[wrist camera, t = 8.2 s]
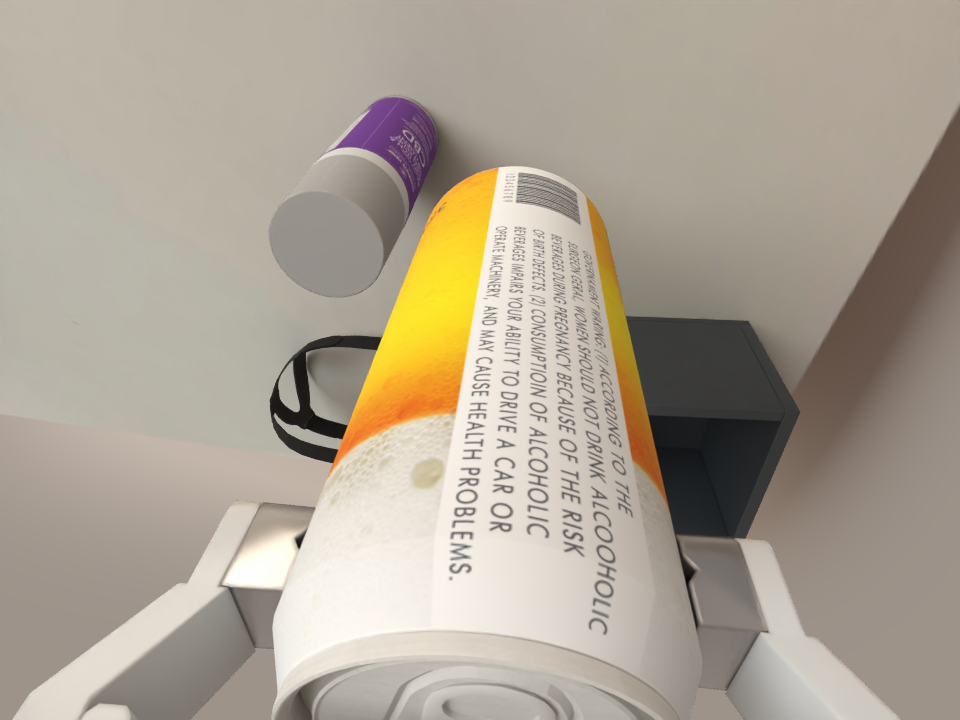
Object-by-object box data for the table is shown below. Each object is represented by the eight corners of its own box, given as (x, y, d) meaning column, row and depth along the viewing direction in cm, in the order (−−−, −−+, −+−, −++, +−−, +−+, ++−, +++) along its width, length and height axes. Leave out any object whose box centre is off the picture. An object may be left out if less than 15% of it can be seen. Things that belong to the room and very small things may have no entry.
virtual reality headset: (506, 446, 48) (484, 546, 40) (313, 403, 49) (253, 491, 41) (527, 335, 41) (506, 428, 33) (303, 290, 43) (230, 369, 35)
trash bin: (748, 320, 40) (800, 411, 32) (706, 451, 47) (740, 551, 39) (564, 313, 40) (572, 401, 33) (551, 444, 48) (555, 540, 40)
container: (453, 128, 34) (410, 235, 21) (412, 192, 36) (352, 320, 24) (383, 76, 32) (295, 160, 20) (345, 146, 35) (246, 258, 23)
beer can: (416, 307, 21) (255, 800, 9) (436, 139, 18) (212, 591, 5) (578, 338, 21) (628, 859, 9) (631, 178, 18) (826, 694, 6)
